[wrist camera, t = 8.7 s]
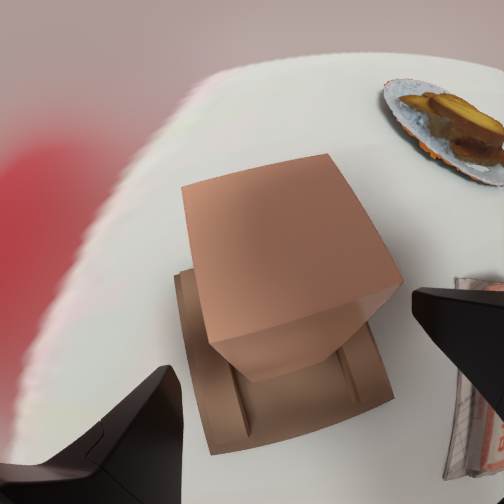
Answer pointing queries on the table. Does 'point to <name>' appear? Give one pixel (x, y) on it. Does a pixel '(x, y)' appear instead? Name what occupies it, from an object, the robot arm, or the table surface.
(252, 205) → the clay bar
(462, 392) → the packaged product
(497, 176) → the food on plate
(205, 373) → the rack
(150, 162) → the table surface
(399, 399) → the table surface
